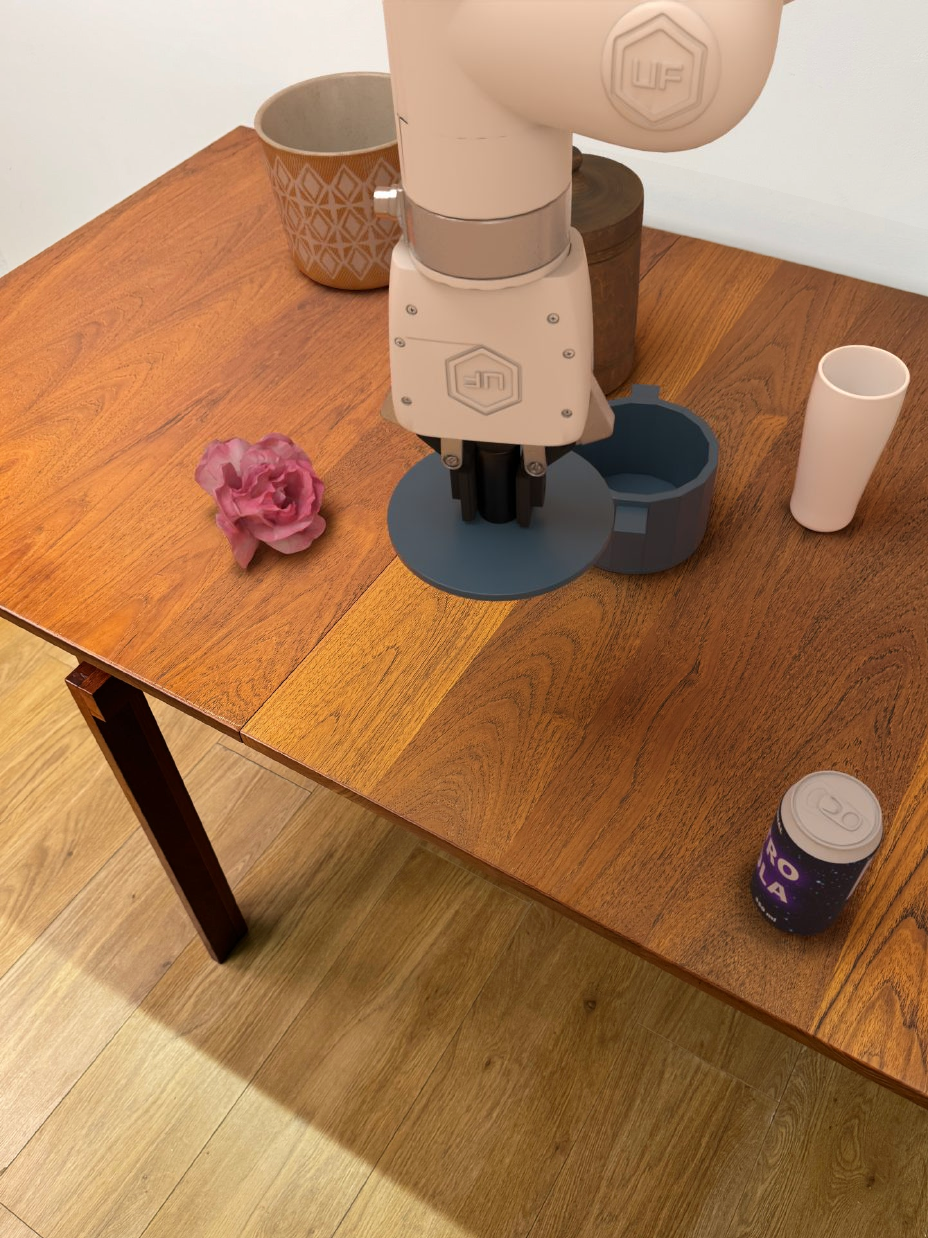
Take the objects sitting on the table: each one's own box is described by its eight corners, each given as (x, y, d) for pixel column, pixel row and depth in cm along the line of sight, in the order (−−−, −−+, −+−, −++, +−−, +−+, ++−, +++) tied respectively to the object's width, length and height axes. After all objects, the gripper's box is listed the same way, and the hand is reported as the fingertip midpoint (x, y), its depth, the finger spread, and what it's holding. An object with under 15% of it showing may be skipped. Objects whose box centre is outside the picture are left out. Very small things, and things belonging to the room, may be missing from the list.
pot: (708, 458, 92) (721, 382, 85) (701, 606, 80) (715, 533, 74) (571, 447, 94) (573, 372, 87) (545, 590, 82) (546, 517, 76)
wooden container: (457, 361, 103) (442, 148, 86) (560, 302, 109) (565, 92, 92) (558, 428, 95) (563, 209, 78) (663, 361, 101) (689, 143, 84)
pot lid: (622, 458, 64) (630, 371, 59) (600, 621, 55) (607, 536, 50) (415, 440, 66) (405, 355, 61) (364, 595, 58) (347, 511, 52)
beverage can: (781, 841, 67) (820, 746, 58) (856, 897, 64) (909, 807, 55) (730, 899, 65) (762, 809, 56) (806, 959, 62) (853, 876, 53)
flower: (345, 540, 92) (349, 518, 82) (245, 585, 90) (237, 568, 80) (291, 429, 92) (289, 394, 82) (191, 472, 90) (176, 442, 81)
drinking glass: (869, 540, 84) (922, 397, 72) (788, 542, 84) (828, 400, 73) (850, 485, 88) (898, 341, 77) (773, 487, 89) (809, 345, 77)
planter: (446, 297, 110) (434, 148, 98) (274, 304, 111) (240, 158, 99) (449, 208, 123) (439, 65, 110) (294, 215, 124) (266, 75, 111)
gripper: (294, 252, 44) (353, 539, 59) (662, 271, 42) (630, 567, 56) (339, 170, 49) (383, 454, 63) (673, 183, 46) (641, 477, 61)
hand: (499, 505), depth 59 cm, fingers closed on pot lid, 2 cm apart
